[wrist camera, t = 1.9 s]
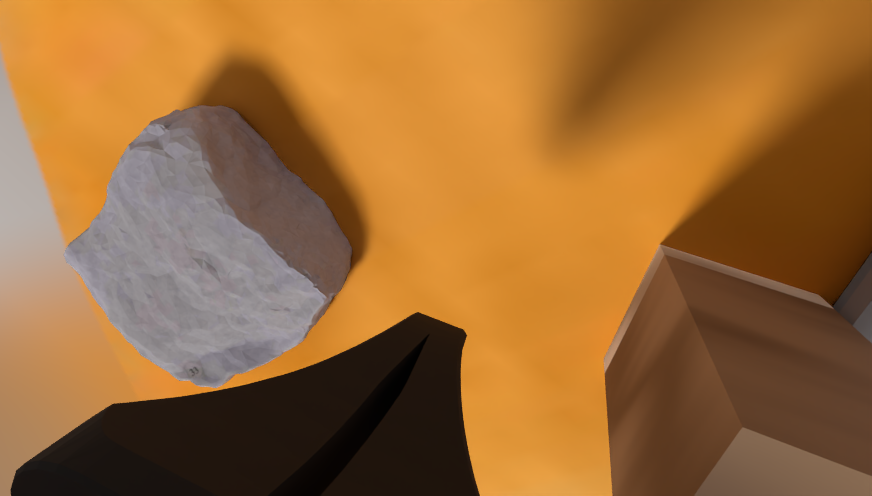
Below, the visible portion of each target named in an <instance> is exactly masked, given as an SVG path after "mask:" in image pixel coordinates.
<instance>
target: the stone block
mask: <svg viewBox="0 0 872 496" xmlns="http://www.w3.org/2000/svg"><path fill="white" fill-rule="evenodd" d="M351 255H352V247H351V245H350V244H349V241H348V239H347V237H346V236H345V235H344V234H343V232H342V231H341V229H340V227H339V225H338V224H337V222H336V220H335V218H334V216H333V214H332V212H331V210H330V209H329V208H328V206H327V205H326V203H325V201H324V200H323V199H322V198H320V197H319V196H318V195H317V194H316V193H315V192H313V191H312V190H311V189H310V188H309V187H308V186H307V185H306V184H305V183H303V181H302V179H301V178H300V177H299V176H297V175H295V174H294V173H292V172H290V171H289V170H288V169H287V168H286V167H285V165H284V164H283V163H282V162H281V161H280V160H279V158H278V157H277V155H276V153H275V151H274V150H273V149H272V148H271V147H270V145H269V144H268V143H267V141H266V140H264V139H263V138H262V137H261V136H260V135H259V134H258V133H257V132H256V131H255V130H254V129H253V128H252V127H251V126H250V125H249V124H248V123H246V122H245V121H244V119H243V118H242V117H241V116H240V114H239V113H238V112H236V111H235V110H233V109H231V108H228V107H225V106H221V105H219V106H214V107H213V106H205V105H200V106H196V107H192V108H188V109H185V110H183V111H179V110H175V111H173V112H172V113H170V114H169V115H167V116H164V117H161V118H158V119H156V120H154V121H151V123H150V124H149V125H148V126H147V127H146V128H145V129H144V130H143V131H142V133H141V134H140V135H139V136H138V137H137V138H136V139H135V140H134V141H133V142H132V143H130V144H129V146H128V147H127V149H126V150H125V152H124V154H123V155H122V157H121V158H120V160H119V163H118V165H117V168H116V169H115V170H114V172H113V173H112V178H111V180H110V182H109V184H108V186H107V199H106V202H105V204H104V207H103V208H102V210H101V212H100V214H99V215H98V216H97V217H96V218H95V219H94V220H93V221H92V222H91V225H90V227H89V228H88V229H87V230H86V231H84V232H83V233H82V234H81V235H80V236H78V237H77V238H76V239H75V240H73V241H72V242H71V243H70V244H69V245H68V247H67V248H66V250H65V253H64V257H65V260H66V263H68V264H70V265H71V266H72V267H73V268H74V269H75V270H76V271H77V272H78V274H79V275H80V276H81V277H82V279H83V281H84V283H85V284H86V286H87V288H88V289H89V291H90V292H91V294H92V296H93V298H94V299H95V300H96V302H97V303H98V305H99V306H100V307H101V308H102V309H103V310H104V312H105V313H106V315H107V317H108V319H109V321H110V322H111V323H112V324H113V325H114V326H115V327H116V328H117V329H118V330H119V331H120V332H121V333H122V335H123V336H124V337H125V339H126V340H127V341H128V342H129V343H131V344H132V345H133V346H134V347H135V348H136V350H137V351H138V352H139V353H140V355H141V356H143V357H145V358H147V359H148V360H150V361H151V362H153V363H154V364H156V365H157V366H159V367H161V368H162V369H164V370H166V371H168V372H169V373H170V374H171V375H172V376H174V377H175V378H176V379H178V380H179V381H189V380H190V381H191V382H193V383H194V384H195V385H197V386H200V387H213V388H217V387H219V386H221V385H223V384H224V383H226V382H227V381H229V380H230V379H231V378H232V377H233V376H234V375H235V374H240V373H245V372H248V371H250V370H252V369H254V368H256V367H259V366H261V365H264V364H266V363H268V362H270V361H272V360H273V359H275V358H277V357H278V356H280V355H282V354H283V353H284V352H285V351H288V350H290V349H292V348H293V347H295V346H297V345H298V344H299V343H301V342H302V341H303V340H304V339H305V338H306V336H307V334H308V333H309V331H310V330H311V328H312V327H313V326H314V325H316V323H317V322H318V321H319V319H320V318H321V317H322V316H323V315H324V314H325V312H326V310H327V308H328V306H329V304H330V302H331V300H332V298H333V297H334V296H335V295H336V294H337V293H338V292H339V291H340V290H341V289H342V287H343V285H344V283H345V281H346V278H347V274H348V272H349V270H350V266H351V262H350V259H351Z"/></svg>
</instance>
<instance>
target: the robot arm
mask: <svg viewBox="0 0 872 496" xmlns="http://www.w3.org/2000/svg"><path fill="white" fill-rule="evenodd" d="M466 336H467V335H466V333H465V331H464V330H463V329H460V328H458V327H455V326H453V325H450V324H447V323H445V322H442V321H440V320H437V319H434V318H432V317H429V316H427V315H424V314H421V313H419V312H417V313H415V314H412V315H411V316H409V317H407V318H406V319H404V320H403V321H401V322H399V323H398V324H396V325H394V326H392V327H391V328H389V329H387V330H385V331H384V332H382V333H380V334H378V335H376V336H374V337H372V338H371V339H369V340H367V341H365V342H363V343H361V344H359V345H357V346H355V347H353V348H351V349H349V350H346V351H344V352H342V353H340V354H338V355H335V356H333V357H331V358H329V359H326V360H324V361H321V362H319V363H316V364H314V365H311V366H308V367H306V368H303V369H300V370H297V371H294V372H291V373H288V374H284V375H281V376H277V377H273V378H269V379H265V380H262V381H258V382H254V383H250V384H247V385H242V386H238V387H233V388H228V389H223V390H218V391H213V392H207V393H201V394H195V395H189V396H182V397H174V398H165V399H156V400H147V401H138V402H129V403H117V404H112V405H110V406H109V407H107V408H105V409H104V410H102V411H101V412H99V413H98V414H96V415H95V416H93V417H92V418H90V419H88V420H87V421H85V422H84V423H82V424H81V425H80V426H78V427H77V428H75V429H74V430H72V431H71V432H69V433H68V434H66V435H65V436H64V437H62V438H61V439H59V440H58V441H56V442H55V443H53V444H52V445H51V446H49V447H48V448H46V449H45V450H43V451H42V452H40V453H39V454H37V455H36V456H35V457H33V458H32V459H30V460H29V461H27V462H26V463H25V464H24V465H22V466H21V467H20V468H19V469H18V470H16V473H15V476H14V480H13V483H12V487H11V496H480V495H479V491H478V488H477V485H476V481H475V478H474V474H473V469H472V465H471V461H470V456H469V451H468V446H467V441H466V435H465V428H464V421H463V412H462V402H461V357H462V349H463V346H464V343H465V340H466Z"/></svg>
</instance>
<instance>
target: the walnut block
mask: <svg viewBox="0 0 872 496" xmlns="http://www.w3.org/2000/svg"><path fill="white" fill-rule="evenodd" d="M604 370H605V385H606V401H607V416H608V432H609V447H610V462H611V478H612V493H613V496H872V343H871V342H870V341H869V340H868V339H866V338H865V337H864V336H863V335H862V334H861V333H860V332H859V331H858V330H857V329H856V328H854V327H853V326H852V325H851V324H850V323H849V322H848V321H847V320H846V319H845V318H844V317H843V316H841V315H840V314H839V313H838V312H837V311H836V310H835V309H834V308H833V307H832V306H831V305H829V304H828V303H827V302H826V301H825V300H824V299H823V298H822V297H821V296H820V295H818V294H815V293H811V292H808V291H805V290H802V289H799V288H796V287H793V286H790V285H786V284H783V283H780V282H777V281H774V280H771V279H768V278H764V277H761V276H758V275H755V274H752V273H749V272H746V271H742V270H739V269H736V268H733V267H730V266H727V265H724V264H720V263H717V262H714V261H711V260H708V259H705V258H702V257H698V256H695V255H692V254H689V253H686V252H683V251H680V250H677V249H673V248H670V247H667V246H664V245H661V244H660V245H659V247H658V249H657V251H656V253H655V255H654V257H653V259H652V261H651V263H650V265H649V267H648V269H647V271H646V273H645V275H644V277H643V279H642V282H641V284H640V286H639V288H638V290H637V292H636V294H635V296H634V298H633V300H632V302H631V304H630V306H629V308H628V310H627V312H626V314H625V316H624V318H623V320H622V322H621V324H620V326H619V329H618V331H617V333H616V335H615V337H614V339H613V341H612V343H611V345H610V347H609V349H608V351H607V353H606V355H605V357H604Z"/></svg>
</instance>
